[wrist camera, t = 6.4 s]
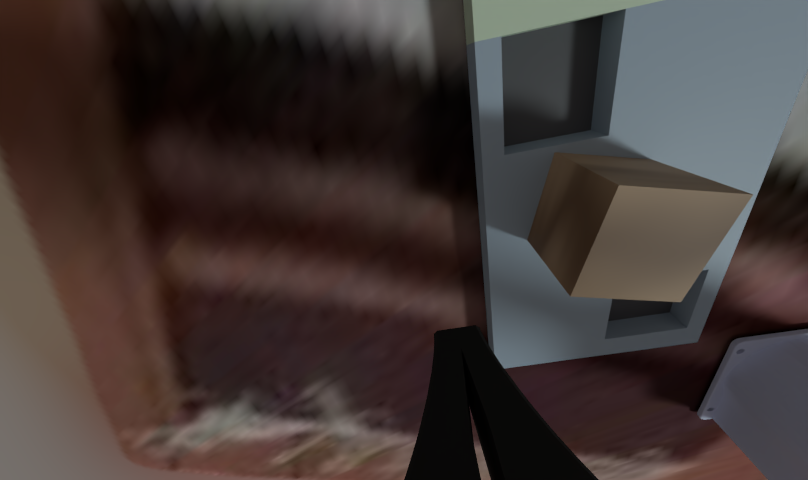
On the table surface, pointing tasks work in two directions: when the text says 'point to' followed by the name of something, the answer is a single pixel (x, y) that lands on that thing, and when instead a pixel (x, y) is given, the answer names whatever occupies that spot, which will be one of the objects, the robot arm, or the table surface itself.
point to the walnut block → (629, 226)
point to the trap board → (617, 141)
